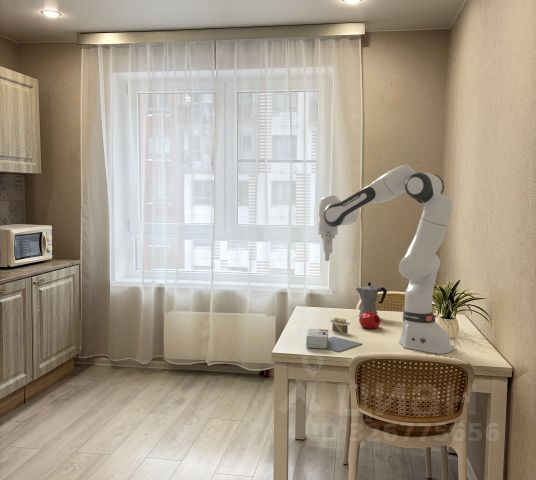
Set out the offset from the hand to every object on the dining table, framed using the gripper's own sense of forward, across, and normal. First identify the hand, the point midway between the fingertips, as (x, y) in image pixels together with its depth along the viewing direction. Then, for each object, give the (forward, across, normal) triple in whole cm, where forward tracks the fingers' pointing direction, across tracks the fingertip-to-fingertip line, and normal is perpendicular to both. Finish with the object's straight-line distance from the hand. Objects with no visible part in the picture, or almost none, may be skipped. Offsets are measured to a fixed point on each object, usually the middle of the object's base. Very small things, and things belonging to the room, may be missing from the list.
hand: (327, 260), depth 257 cm
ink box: (+28, -26, +4) cm, 39 cm away
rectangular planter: (+32, -10, -6) cm, 34 cm away
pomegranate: (+31, 0, -21) cm, 38 cm away
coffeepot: (+31, +20, -23) cm, 44 cm away
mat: (+31, -30, -4) cm, 44 cm away
